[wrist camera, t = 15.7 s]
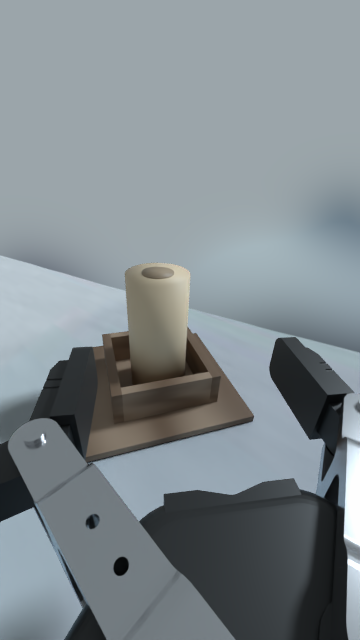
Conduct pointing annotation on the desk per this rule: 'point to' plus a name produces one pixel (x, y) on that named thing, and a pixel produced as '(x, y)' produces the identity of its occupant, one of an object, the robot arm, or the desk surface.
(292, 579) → the robot arm
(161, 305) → the paper roll
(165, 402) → the roll stand
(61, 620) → the desk surface
